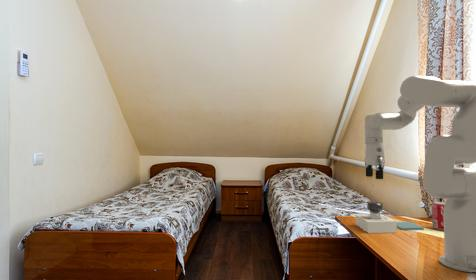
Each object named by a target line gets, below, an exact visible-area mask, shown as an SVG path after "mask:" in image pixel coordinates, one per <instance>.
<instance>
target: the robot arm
mask: <svg viewBox="0 0 476 280" xmlns="http://www.w3.org/2000/svg"><path fill="white" fill-rule="evenodd" d="M399 93H400V96H399V98H398V99H397V107H398V108H399V111H398V112H377V113H374V114H367V115H366V116H365V117H364V144H365V156H364V165H365V177H366V178H367V177H368V178H369V177H373V176H374V170H373V169H374V168H373V166H374V167H375V169H376V170H375V180H383V179H384V167H385V164H386V161H385V150H384V144H383V142H384V141H383V140H384V138H383V137H384V136H383V135H384V134H383V133H384V132H383V131H385V130H386V131H387V130H390V131H391V130H392V131H393V130H394V131H397V130H401V129H403V128H405V127H407V126H408V125H410V124H411V123H413V122H414V120H415V118H416V116H417V112H418V111H420V110H421V109H423V108H424V107H426V106H430V107H441V108H446V107H447V108H459V110H458V111H457V112H456V114H455V115H454V118H453V119H452V123H451V130H450V134H440V135H436V136H435V137H433V138H432V139H431V140H430V141H429V143H428V145H427V147H426V150H425V157H424V167H423V174H422V175H423V176H422V184H423V188H424V190H425V192H426V193H427V194H428V195H429V196H430V197H432V198H434V199H446V200H445V201H444V202H445V205H444V230H443V239H444V240H443V242H444V244H443V245H444V246H443V247H444V251H443V252H444V254H442V255H440V256H439V257H438V261H439V262H440V263H441V265H442V266H445V267H447V268H450V269H453V270H456V271H460V272H465V273H472V272H476V170H475V169H472V168H470V167H455V165H471V164H475V163H476V82H473V81H466V80H443V79H442V80H441V79H440V78H438V77H435V76H431V75H429V76H426V75H411V76H408V77H407V78H405V79H404V80H403V81H402V83H401V85H400V87H399Z"/></svg>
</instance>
